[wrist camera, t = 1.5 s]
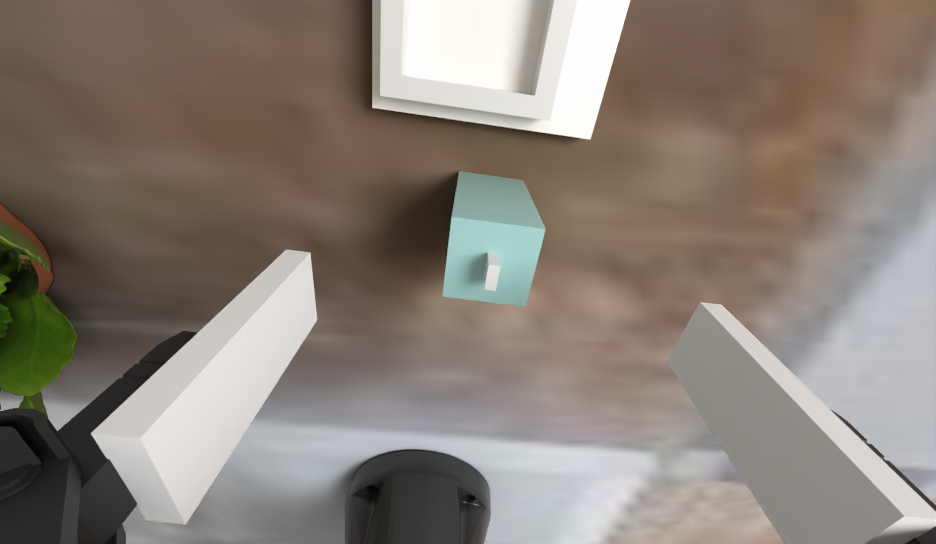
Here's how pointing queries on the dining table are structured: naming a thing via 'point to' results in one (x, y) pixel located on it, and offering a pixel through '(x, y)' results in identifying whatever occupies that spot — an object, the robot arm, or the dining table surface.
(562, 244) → the dining table surface
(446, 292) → the block
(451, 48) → the outlet plate
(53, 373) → the potted flower
